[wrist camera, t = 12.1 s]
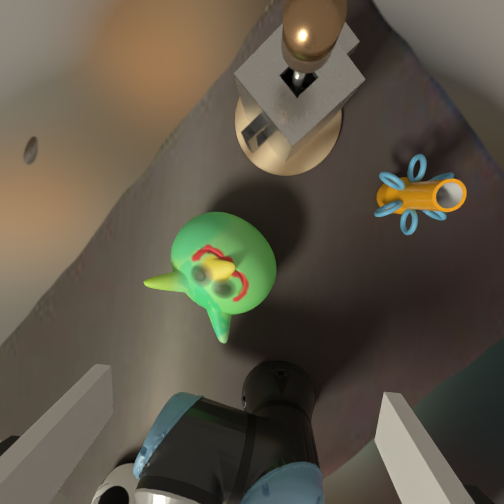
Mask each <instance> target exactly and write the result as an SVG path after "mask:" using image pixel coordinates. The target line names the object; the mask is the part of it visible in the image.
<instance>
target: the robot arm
mask: <svg viewBox="0 0 504 504" xmlns="http://www.w3.org/2000/svg"><path fill="white" fill-rule="evenodd" d="M242 404H243V408H244V411H242V410H239V409H236V408H233V407H230V406H227V405H224V404H222V403H219V402H216V401H213V400H210V399H207V398H204V396H196V395H193V394H189V393H185V392H179V393H177V394H175V395H173V396H172V397H171V398H170V399H169V401H168V402H167V403H166V404H165V406H164V407H163V409H162V410H161V412H160V414H159V415H158V417H157V418H156V420H155V422H154V424H153V425H152V427H151V429H150V431H149V433H148V435H147V437H146V439H145V441H144V444H143V446H142V448H141V450H140V452H139V454H138V456H137V458H136V461H135V463H134V466H133V474H134V475H135V476H136V478H137V479H139V478H140V480H139V483H138V485H137V488H136V490H135V493H134V498H135V502H136V504H325V498H324V489H323V475H322V472H321V470H320V465H319V460H318V455H317V450H316V445H315V440H314V435H313V430H312V425H311V420H312V413H313V410H314V406H315V395H314V390H313V386H312V383H311V381H310V379H309V377H308V376H307V375H306V373H305V372H304V371H302V370H301V369H300V368H298V367H297V366H295V365H292V364H290V363H286V362H278V361H276V362H268V363H264V364H262V365H260V366H258V367H256V368H255V369H253V370H252V371H251V372H250V373H249V375H248V376H247V377H246V379H245V381H244V385H243V390H242ZM112 415H113V395H112V376H111V365H100V364H95V365H94V366H93V367H92V368H91V369H90V370H89V371H88V372H87V373H86V374H85V375H84V376H83V377H82V378H81V379H80V380H79V381H78V382H77V383H76V384H75V385H74V386H73V387H72V388H71V389H70V390H69V391H67V392H66V393H65V394H64V395H63V396H62V397H61V398H60V399H59V400H58V401H57V402H56V403H55V404H54V405H53V406H52V407H51V408H50V409H49V410H48V411H47V412H46V413H45V414H44V415H43V416H42V417H41V418H40V419H39V420H38V421H37V422H36V423H34V424H33V425H32V426H31V427H30V428H29V429H28V430H27V431H26V432H25V433H24V434H23V435H22V436H10V437H9V438H7V439H6V440H4V441H2V442H1V443H0V504H49V503H50V501H51V500H52V498H53V497H54V496H55V495H56V493H57V492H58V490H59V489H60V488H61V486H62V485H63V483H64V482H65V481H66V479H67V478H68V476H69V475H70V474H71V472H72V471H73V469H74V468H75V467H76V465H77V464H78V462H79V461H80V460H81V458H82V457H83V455H84V454H85V453H86V451H87V450H88V448H89V447H90V446H91V444H92V443H93V441H94V440H95V439H96V437H97V436H98V434H99V433H100V432H101V430H102V429H103V427H104V426H105V425H106V423H107V422H108V420H109V419H110V418H111V416H112ZM375 443H376V445H377V447H378V449H379V452H380V454H381V457H382V459H383V461H384V463H385V465H386V468H387V470H388V472H389V475H390V477H391V479H392V482H393V484H394V486H395V489H396V491H397V493H398V495H399V498H400V500H401V502H402V504H495V503H494V502H492V500H490V499H489V498H488V497H487V496H486V495H485V494H484V493H483V492H482V491H481V490H480V489H479V488H478V487H477V486H472V485H462V483H461V482H460V481H459V479H458V478H457V476H456V475H455V473H454V472H453V470H452V469H451V467H450V466H449V464H448V463H447V461H446V460H445V458H444V457H443V456H442V454H441V452H440V451H439V449H438V448H437V446H436V445H435V443H434V442H433V441H432V439H431V438H430V436H429V435H428V433H427V432H426V430H425V429H424V427H423V426H422V424H421V423H420V421H419V420H418V418H417V417H416V415H415V414H414V412H413V411H412V409H411V408H410V406H409V405H408V403H407V402H406V401H405V399H404V398H403V396H402V395H401V393H390V392H384V395H383V400H382V405H381V410H380V415H379V421H378V426H377V431H376V436H375Z"/></svg>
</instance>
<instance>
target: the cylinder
mask: <svg viewBox="0 0 504 504" xmlns="http://www.w3.org/2000/svg"><path fill="white" fill-rule="evenodd" d="M418 159H419V160H420V170H419V173H418V175H417V177H416V178H414V176H413V169H414V165H415V163H416V161H417V160H418ZM426 166H427V161H426V158H425V156H424V155H423V154H417V155H415V156H414V157H413V158H412V159H411V161H410V163H409V166H408V171H407V175H408V177H401V178H399V177H397V176H395V175H394V174H392V173H389V172H381V173H380V174H379V177H380V179H381V180H382V181H383V182H384V183H383V184H382V185H381V186H380V188H379V190H378V192H377V203H378V205H379V207H380V208H378V209H377V210H376V211H375V213H374V215H375V216H376V217H382V216H385V215H388V214H391V213H395V214H402V216H401V221H400V227H401V230H402V232H403V233H404V234H405V235H411V234H412V233H413V232H414V231H415V230H416V228H417V224H418V215H417V212H416V211H415V209H416V210H421V211H422V212H424V213H425V214H427V215H428V216H430V217H432V218H434V219H437V220H445V219H446V214H445V213H444V212H451V211H454V210H456V209H458V208H459V207H460V206H461V205H462V204H463V203H464V201H465V198H466V188H465V186H464V184H463V183H462V182H461V181H459V180H457V179H453V177H454V174H453V173H445V174H441V175H439V176H436V177H434V178H432V179H430V180H428V181H422V182H419V181H420V180H421V179H422V178H423V176H424V174H425V171H426ZM388 178H389V179H390V180H389V179H388ZM432 211H433V212H432ZM434 212H435V213H434ZM409 213H410V214H411V216H412V224H411V227H410V229H409V230H407V228H406V218H407V216H408V214H409Z"/></svg>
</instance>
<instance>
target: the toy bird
mask: <svg viewBox="0 0 504 504" xmlns="http://www.w3.org/2000/svg"><path fill="white" fill-rule="evenodd" d="M171 266H172V270H173V272H171V273H167V274H163V275H159V276H155V277H152V278H149V279H147V280H145V281H144V284H145V285H146V286H147V287H150V288H154V289H161V290H169V291H178V292H185V293H186V294H187V295H188V296H189V297H190V298H191V299H192V300H193V301H195V302H196V303H197V304H199V305H201V306H202V307H204V308H206V310H207V312H208V315H209V317H210V320H211V323H212V325H213V328H214V331H215V333H216V335H217V337H218V339H219V341H220V342H222V343H226V342H227V340H228V336H229V329H230V321H231V316H232V314H240V313H244V312H247V311H249V310H251V309H253V308H255V307H256V306H257V305H259V304H260V303H261V302H262V301H263V300H264V299H265V298H266V297H267V295H268V294H269V292H270V291H271V289H272V287H273V284H274V282H275V278H276V260H275V256H274V253H273V251H272V249H271V247H270V245H269V243H268V242H267V240H266V239H265V238H264V236H263V235H262V234H261V233H260V232H259V231H258V230H257V229H256V228H255V227H254V226H252V225H251V224H250V223H248V222H247V221H245V220H243V219H241V218H239V217H237V216H235V215H232V214H229V213H224V212H209V213H204V214H201V215H199V216H197V217H195V218H193V219H192V220H190V221H189V222H188V223H187V224H185V225H184V226H183V228H182V229H181V230H180V231H179V233H178V234H177V236H176V238H175V240H174V243H173V246H172V250H171Z"/></svg>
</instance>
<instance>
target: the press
mask: <svg viewBox="0 0 504 504" xmlns="http://www.w3.org/2000/svg"><path fill="white" fill-rule="evenodd" d="M282 30H283V24H282V25H281V26H280V27H279V28H278V29H277V30H276V31H275V32H274V33H273V34H272V35H271V36H270V37H269V38H268V39H267V40H266V41H265V42H264V43H263V44H262V45H261V46H260V47H259V48H258V49H257V50H256V51H255V52H254V53H253V54H252V55H251V56H250V57H249V59H248V60H247V61H246V62H245V63H244V64H243V65H242V66H241V67H240V68H239V69H238V70H237V71H236V72H235V73H234V76H235V79H236V83H237V87H238V90H239V94H240V97H241V101H242V105H243V108H244V112H245V115H246V119H247V120H248V121H249V122H250V124H249V125H248V126H247V127H246V128H245V129H244V130H243V131H242V132H241V134H242V136H243V138H244V141H245V143H246V145H247V147H248V149H249V150H250V151H251V152H252V153H254V152H255V151H257V150H258V149H259V148H260V147H261V146H262V145H263V144H264V143H265V142H266V143H267V144H268V145H269V146H270V148H271V149H272V150H273V151H274V152H275V154H276V155H277V156H278V157H279V158H280V160H281V161H282V162H283V163H286V162H287V161H288V160H289V159H290V158H291V157H292V156H293V155H294V154H296V153H297V152H298V151H299V150H300V149H301V148H302V147H303V146H304V145H305V144H307V143H308V142H309V141H310V140H311V139H312V138H313V137H314V136H315V135H317V134H318V133H319V132H320V131H321V130H322V129H323V128H324V127H325V126H326V125H328V124H329V123H330V122H331V120H332V119H333V118H334V117H335V116H336V114H337V113H338V112H339V111H340V110H341V108H342V107H343V106H344V105H345V104H346V102H347V101H348V100H349V99H350V97H351V96H352V95H353V94H354V93H355V91H356V90H357V89H358V88H359V87H360V85H361V84H362V83H363V82H364V81H365V78H364V77H363V75H362V74H361V73H360V71H359V70H358V69H357V67H356V66H355V65H354V63H353V62H352V61H351V59H350V58H349V56H350V55H351V54H352V53H353V52H354V50H355V49H356V47H357V45H358V44H359V42H360V41H359V40H358V38H357V37H356V36H355V34H354V33H353V32H352V30H351V29H350V28H349V26H348V25H347V23H346V22H345V23H344V26H343V28H342V30H341V33H340V35H339V37H338V39H337V42H336V44H335V46H334V49H333V51H332V53H331V55H330V57H329V59H328V61H327V62H326V63H325V65H324V66H323V67H321V68H320V69H319V70H317V71H315V72H312V73H306V74H305V77H304V80H305V81H307V82H308V83H309V84H310V86H309V87H308V88H307V89H306V90H305V91H304V92H303V93H302V94H301V95H300V96H299V97H298V98H297V97H296V96H295V95H294V94H293V92H292V91H291V90H290V89H289V87H288V86H287V85H286V83H285V82H284V81H283V79H285V78H288V77H293V75H294V70H293V69H291V68H290V67H289V66H288V65H287V63H286V62H285V60H284V58H283V55H282V50H281V41H282Z"/></svg>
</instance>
